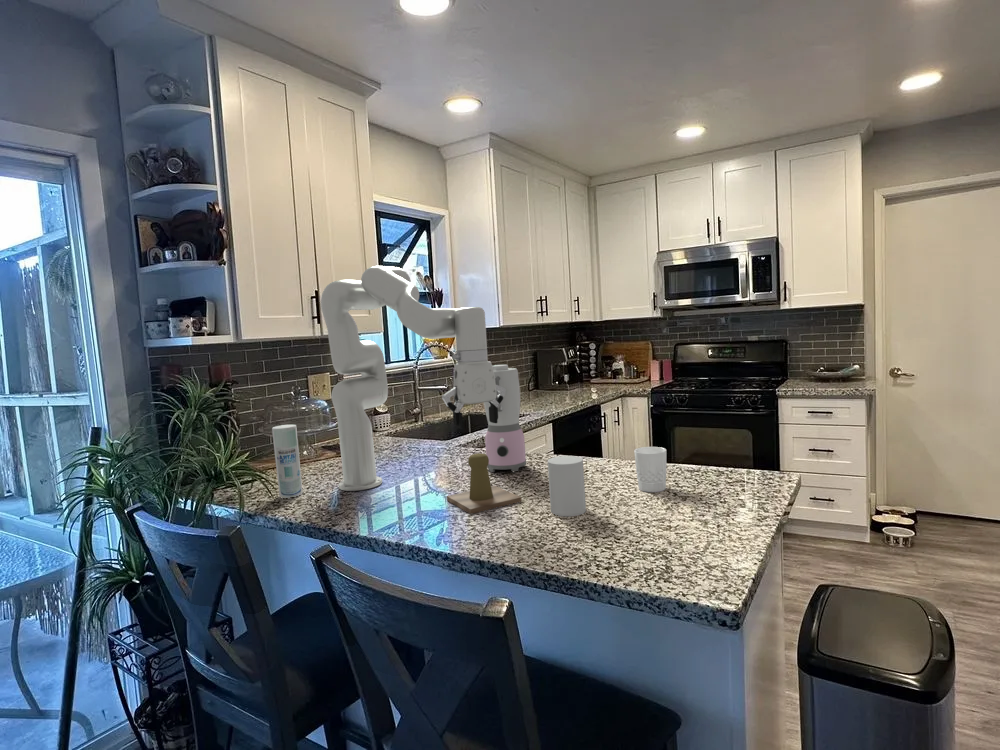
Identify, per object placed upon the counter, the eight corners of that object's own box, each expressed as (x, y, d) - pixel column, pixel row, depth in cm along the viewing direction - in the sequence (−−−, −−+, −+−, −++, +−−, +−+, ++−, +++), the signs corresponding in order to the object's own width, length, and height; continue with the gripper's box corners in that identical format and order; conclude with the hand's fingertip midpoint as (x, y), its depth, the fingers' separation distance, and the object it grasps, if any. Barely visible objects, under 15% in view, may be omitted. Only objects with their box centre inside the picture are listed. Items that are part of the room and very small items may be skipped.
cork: (494, 492, 148) (491, 450, 147) (491, 500, 142) (488, 456, 141) (471, 493, 149) (468, 452, 148) (467, 501, 143) (464, 457, 142)
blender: (491, 464, 185) (483, 365, 182) (528, 462, 183) (521, 362, 180) (481, 477, 169) (473, 369, 167) (522, 476, 167) (514, 366, 165)
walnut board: (447, 500, 148) (446, 496, 148) (494, 489, 155) (494, 485, 155) (470, 514, 136) (470, 509, 136) (521, 501, 143) (521, 497, 143)
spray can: (302, 490, 169) (295, 423, 167) (304, 496, 163) (297, 426, 161) (278, 494, 166) (271, 426, 164) (279, 500, 160) (272, 429, 158)
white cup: (633, 492, 144) (631, 453, 143) (638, 483, 151) (636, 446, 150) (666, 493, 141) (664, 453, 140) (669, 484, 148) (667, 446, 147)
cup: (588, 505, 136) (585, 455, 135) (582, 517, 128) (579, 464, 127) (555, 504, 139) (552, 455, 138) (547, 515, 131) (543, 464, 130)
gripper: (446, 360, 135) (451, 432, 137) (510, 354, 143) (513, 422, 145) (434, 359, 142) (438, 427, 143) (495, 354, 150) (499, 418, 151)
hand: (476, 425), depth 144 cm, fingers open, 9 cm apart
